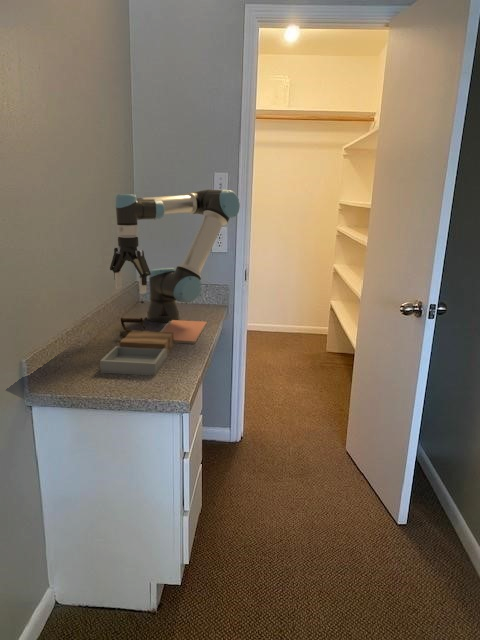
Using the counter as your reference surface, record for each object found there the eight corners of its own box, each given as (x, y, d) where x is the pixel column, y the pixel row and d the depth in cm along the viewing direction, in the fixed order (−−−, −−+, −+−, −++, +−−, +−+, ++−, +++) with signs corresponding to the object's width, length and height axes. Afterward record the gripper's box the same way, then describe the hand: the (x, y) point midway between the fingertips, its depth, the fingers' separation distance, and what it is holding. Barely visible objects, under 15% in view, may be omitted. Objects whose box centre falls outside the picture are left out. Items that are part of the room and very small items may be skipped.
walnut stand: (132, 342, 174) (132, 330, 172) (173, 344, 173) (173, 332, 171) (120, 355, 160) (119, 342, 159) (164, 357, 159) (164, 344, 158)
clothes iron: (144, 341, 178) (136, 317, 175) (118, 345, 180) (110, 322, 177) (150, 334, 184) (143, 311, 181) (125, 338, 187) (117, 316, 184)
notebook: (169, 323, 202) (169, 319, 201) (207, 325, 200) (207, 321, 199) (152, 343, 176) (152, 338, 175) (194, 345, 174) (194, 340, 173)
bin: (117, 355, 160) (116, 345, 159) (167, 358, 159) (166, 347, 158) (100, 372, 145) (99, 360, 144) (155, 375, 144) (155, 363, 143)
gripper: (98, 234, 175) (102, 288, 181) (143, 239, 161) (146, 297, 167) (113, 233, 181) (116, 285, 187) (158, 237, 167) (160, 293, 173)
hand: (130, 291), depth 177 cm, fingers open, 13 cm apart
